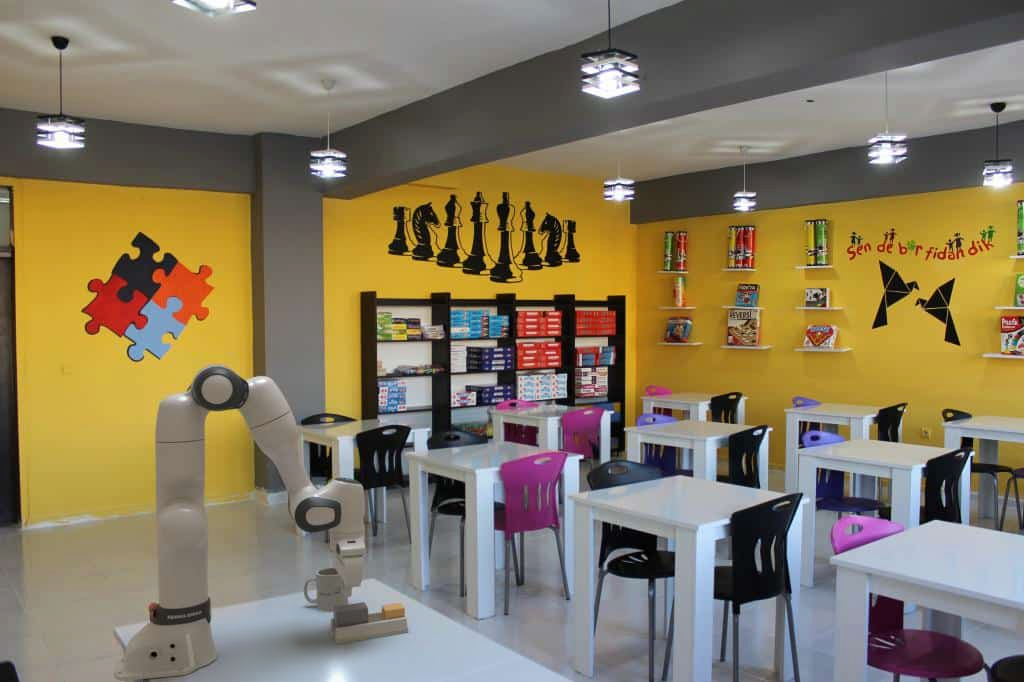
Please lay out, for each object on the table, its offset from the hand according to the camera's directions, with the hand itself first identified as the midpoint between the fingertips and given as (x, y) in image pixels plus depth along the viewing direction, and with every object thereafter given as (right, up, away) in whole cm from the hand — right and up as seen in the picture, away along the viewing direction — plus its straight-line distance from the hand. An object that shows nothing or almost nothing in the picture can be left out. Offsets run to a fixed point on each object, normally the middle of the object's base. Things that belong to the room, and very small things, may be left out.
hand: (347, 595), depth 208 cm
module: (+1, -9, 0) cm, 9 cm away
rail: (+5, -10, +2) cm, 11 cm away
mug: (-11, -11, +24) cm, 28 cm away
